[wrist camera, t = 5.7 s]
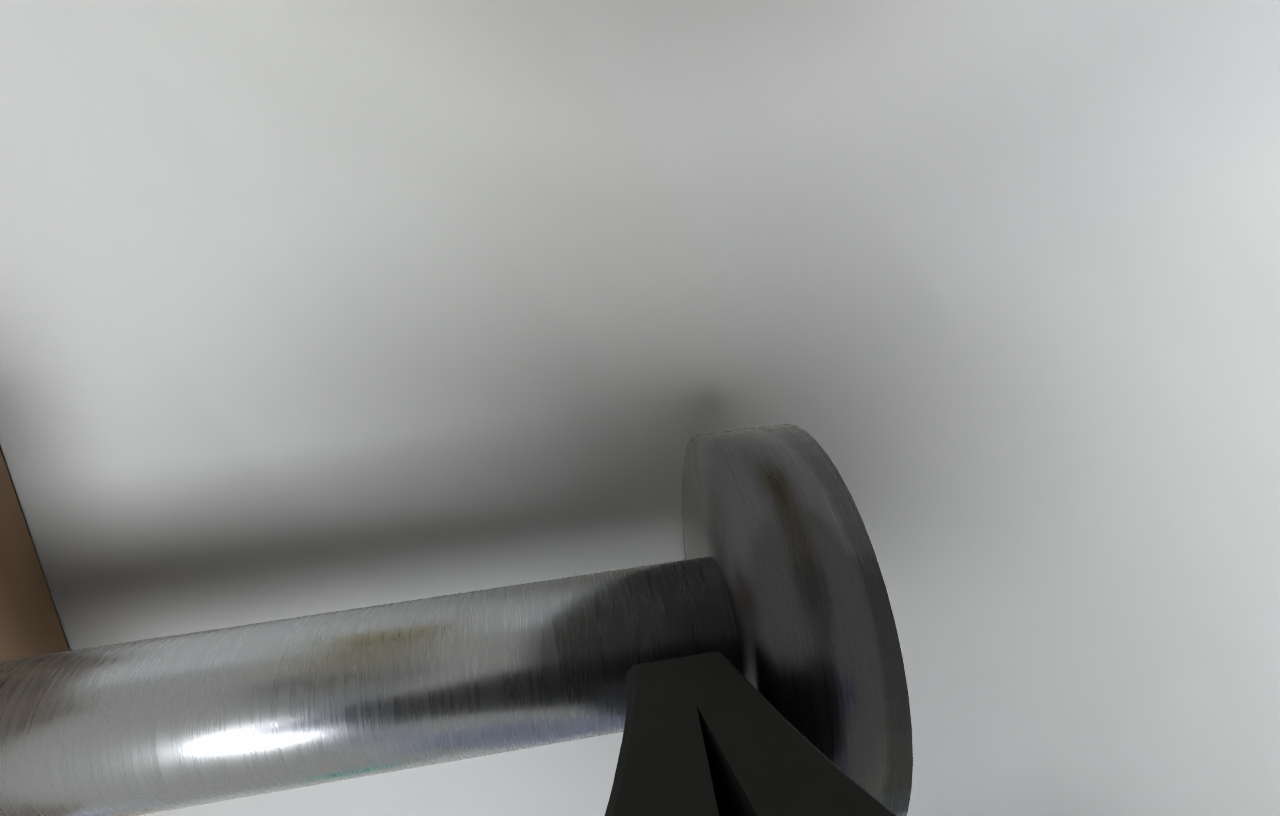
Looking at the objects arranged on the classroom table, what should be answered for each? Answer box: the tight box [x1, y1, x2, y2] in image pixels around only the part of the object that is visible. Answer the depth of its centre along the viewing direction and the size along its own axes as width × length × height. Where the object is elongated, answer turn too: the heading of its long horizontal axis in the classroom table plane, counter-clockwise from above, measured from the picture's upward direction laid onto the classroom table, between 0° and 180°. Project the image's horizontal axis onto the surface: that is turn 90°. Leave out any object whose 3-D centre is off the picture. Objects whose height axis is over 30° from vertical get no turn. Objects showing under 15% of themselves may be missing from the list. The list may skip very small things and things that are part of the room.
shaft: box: [0, 424, 913, 816], centre depth 10 cm, size 18×6×6 cm, turn 95°
